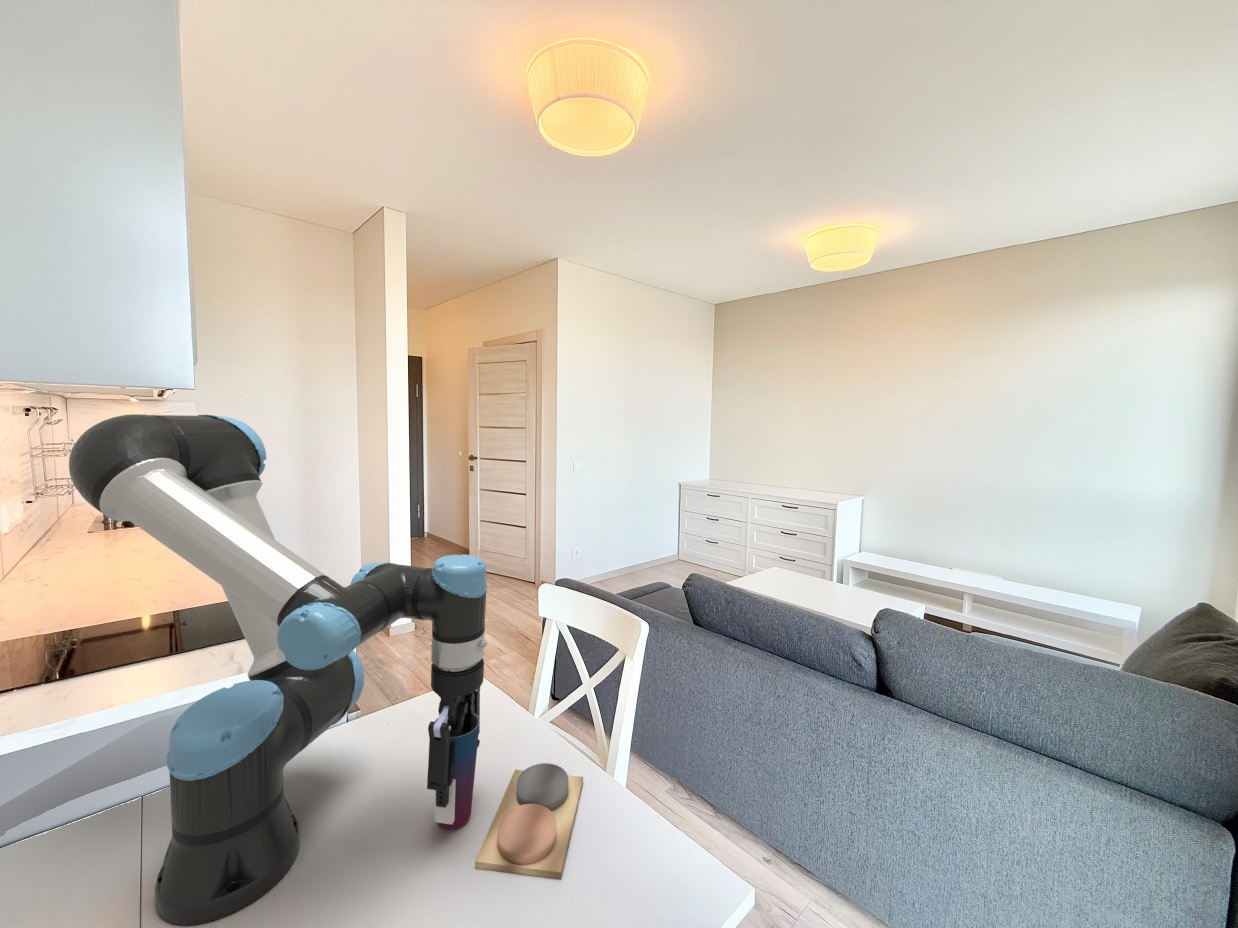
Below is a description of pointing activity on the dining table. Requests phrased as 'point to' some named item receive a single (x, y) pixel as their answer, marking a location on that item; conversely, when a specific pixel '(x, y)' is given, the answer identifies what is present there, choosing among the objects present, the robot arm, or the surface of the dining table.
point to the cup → (464, 771)
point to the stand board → (561, 828)
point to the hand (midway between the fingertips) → (454, 803)
